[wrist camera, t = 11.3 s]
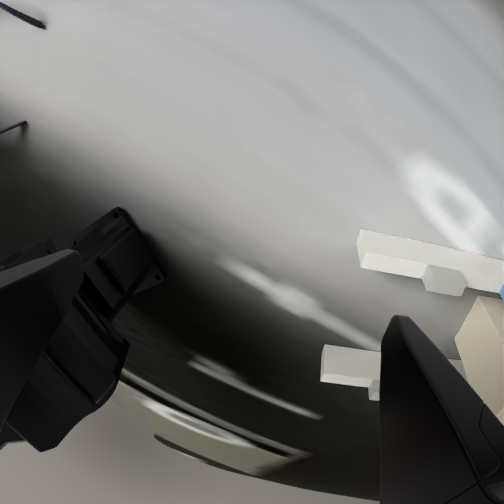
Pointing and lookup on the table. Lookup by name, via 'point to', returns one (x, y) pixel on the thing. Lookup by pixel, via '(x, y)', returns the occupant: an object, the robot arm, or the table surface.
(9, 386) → the robot arm
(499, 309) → the beige drawer with knob
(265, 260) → the table surface
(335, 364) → the sled frame
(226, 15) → the table surface
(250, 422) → the table surface
